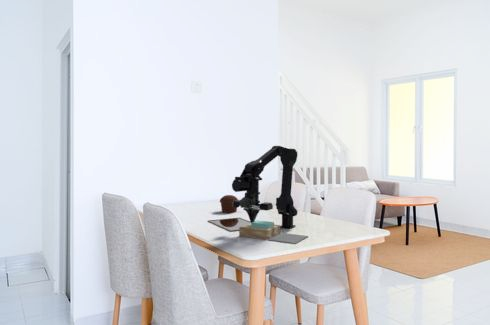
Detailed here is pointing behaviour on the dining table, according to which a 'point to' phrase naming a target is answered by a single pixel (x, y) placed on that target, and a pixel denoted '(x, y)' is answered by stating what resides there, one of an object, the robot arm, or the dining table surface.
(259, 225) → the teal rectangular block
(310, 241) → the dining table surface
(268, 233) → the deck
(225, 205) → the muffin
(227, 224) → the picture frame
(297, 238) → the mat
